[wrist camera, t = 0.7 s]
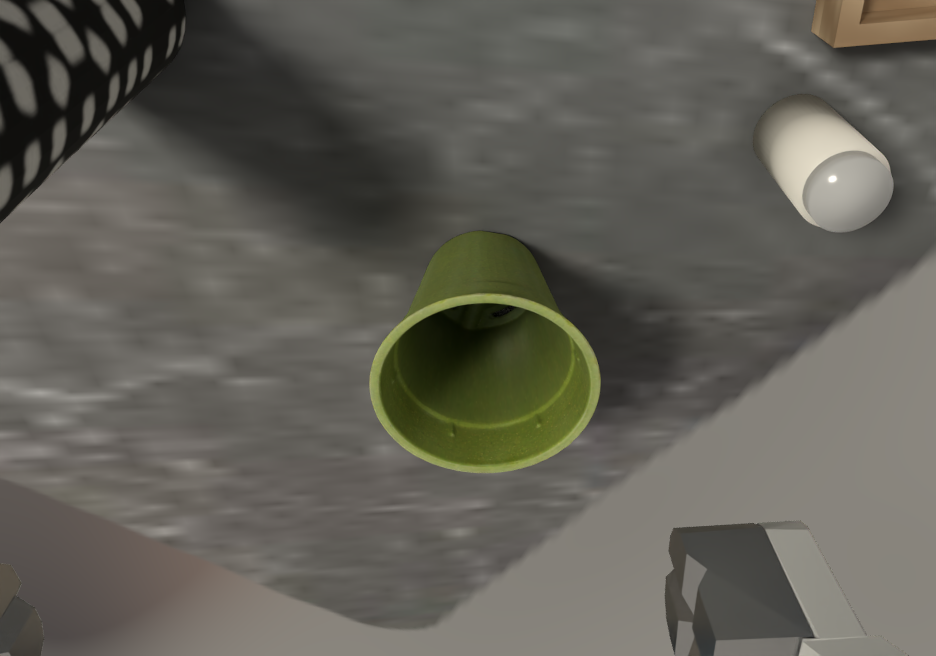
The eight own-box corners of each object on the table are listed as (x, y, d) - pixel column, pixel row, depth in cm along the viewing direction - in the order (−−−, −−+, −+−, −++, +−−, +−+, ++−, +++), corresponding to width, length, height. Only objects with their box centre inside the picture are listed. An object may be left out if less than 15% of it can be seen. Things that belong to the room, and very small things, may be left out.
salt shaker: (758, 97, 41) (812, 156, 35) (841, 90, 41) (911, 149, 34) (747, 172, 44) (795, 240, 37) (825, 166, 43) (887, 234, 37)
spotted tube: (173, 104, 41) (-19, 313, 25) (12, 48, 40) (-304, 232, 24) (198, -52, 37) (-16, 80, 21) (18, -123, 35) (-369, -41, 19)
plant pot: (614, 249, 47) (648, 363, 38) (509, 375, 53) (517, 500, 44) (449, 155, 43) (442, 255, 34) (356, 302, 49) (330, 421, 40)
